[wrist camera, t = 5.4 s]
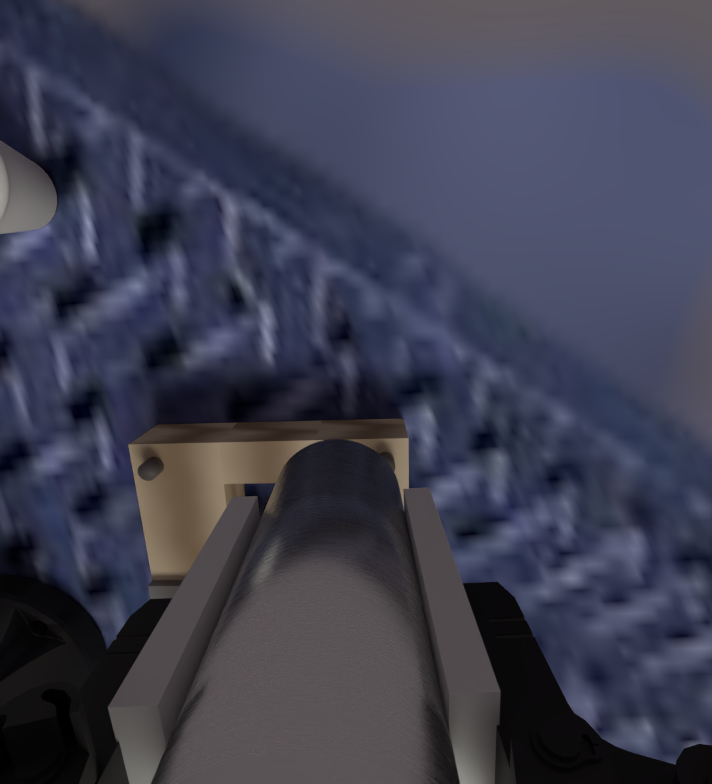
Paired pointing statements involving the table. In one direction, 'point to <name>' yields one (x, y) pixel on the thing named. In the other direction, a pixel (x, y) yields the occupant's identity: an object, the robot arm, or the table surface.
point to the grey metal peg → (319, 644)
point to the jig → (227, 477)
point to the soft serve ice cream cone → (24, 193)
